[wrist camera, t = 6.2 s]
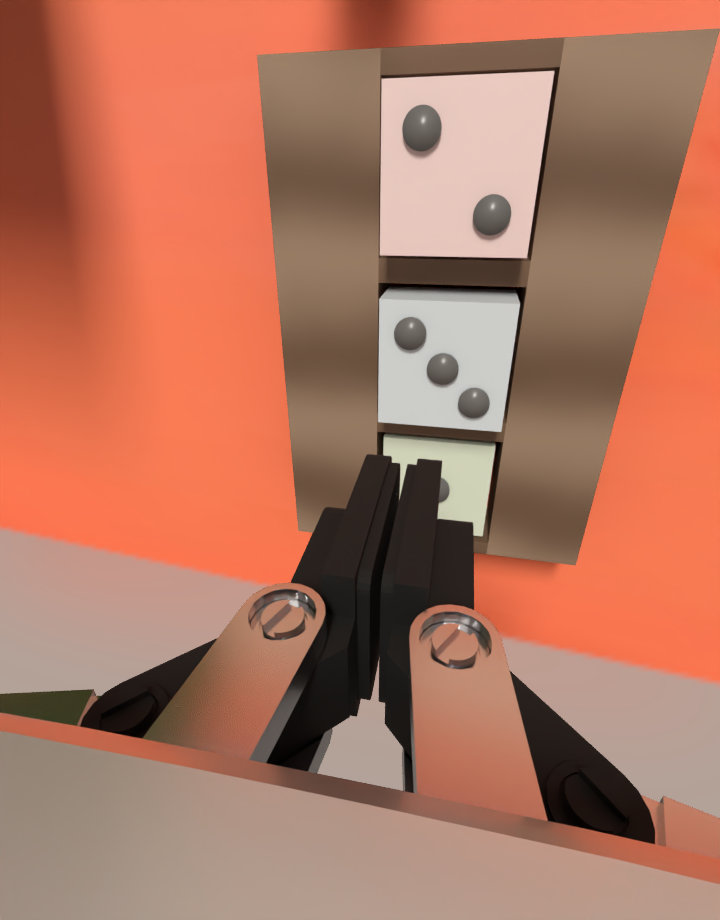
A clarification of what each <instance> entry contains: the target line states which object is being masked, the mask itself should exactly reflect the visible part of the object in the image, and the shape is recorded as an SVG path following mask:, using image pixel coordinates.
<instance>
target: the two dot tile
mask: <svg viewBox="0 0 720 920" xmlns="http://www.w3.org/2000/svg"><path fill="white" fill-rule="evenodd" d="M553 77H554V71H540V72H518V73H496V74H474V75H453V76H431V77H409V78H387V79H382V92H381V187H380V255H389V256H440V257H492V258H527V254H528V247H529V240H530V234H531V227H532V220H533V213H534V206H535V200H536V193H537V186H538V179H539V173H540V166H541V159H542V152H543V145H544V139H545V132H546V125H547V118H548V111H549V105H550V98H551V91H552V84H553Z"/></svg>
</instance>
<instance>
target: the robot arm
mask: <svg viewBox="0 0 720 920" xmlns="http://www.w3.org/2000/svg"><path fill="white" fill-rule="evenodd" d="M441 472H442V460H430V459H419V458H418V460H417V465H414V464H407V468H406V473H405V477H404V482H403V486H402V490H401V495H400V463H392V457H391V456H384V455H373V454H367V455H366V457H365V460H364V462H363V465H362V467H361V470H360V473H359V475H358V478H357V481H356V483H355V486H354V488H353V491H352V494H351V496H350V499H349V501H348V504H347V507H346V509H344V508H334V507H326V508H324V510H323V512H322V514H321V516H320V518H319V521H318V523H317V525H316V527H315V530H314V532H313V534H312V536H311V538H310V541H309V543H308V545H307V547H306V550H305V552H304V554H303V556H302V558H301V561H300V563H299V565H298V567H297V570H296V572H295V574H294V576H293V578H292V581H291V583H280V584H274V585H271V586H268V587H265V588H263V589H261V590H259V591H258V592H256V593H254V594H253V595H252V596H251V597H250V598H249V599H248V600H247V601H246V602H245V603H244V604H243V606H242V607H241V608H240V610H239V611H238V613H236V615H235V616H234V617H233V619H232V621H230V623H229V624H228V626H227V627H226V628H225V629H224V631H223V632H222V634H221V635H220V636H219V637H218V638H217V639H214V640H212V641H211V642H208V643H206V644H204V645H202V646H200V647H197V648H195V649H193V650H191V651H189V652H187V653H184V654H182V655H180V656H178V657H176V658H174V659H172V660H169V661H167V662H165V663H163V664H161V665H159V666H157V667H154V668H152V669H150V670H148V671H146V672H144V673H142V674H140V675H137V676H135V677H133V678H131V679H129V680H127V681H124V682H122V683H120V684H119V685H117V686H115V687H114V688H112V689H110V690H108V691H107V692H105V693H104V694H103V695H102V696H96V694H95V692H94V689H93V690H72V691H52V692H32V693H10V694H0V920H720V818H717V817H715V816H712V815H710V814H708V813H705V812H703V811H700V810H697V809H695V808H693V807H690V806H687V805H685V804H682V803H680V802H677V801H675V800H672V799H670V798H667V797H665V796H663V797H662V799H661V801H660V803H659V802H657V801H654V800H652V799H649V798H647V797H645V796H642V795H640V793H639V791H638V790H637V789H636V788H635V787H634V786H633V784H632V783H631V782H630V781H629V780H628V779H627V778H626V777H625V776H624V775H623V774H622V773H621V772H620V771H619V770H618V769H617V768H616V767H615V766H613V765H612V764H611V763H610V762H609V761H608V760H607V759H606V758H605V757H604V756H603V755H602V754H600V753H599V752H598V751H597V750H596V749H595V748H594V747H593V746H592V745H591V744H589V743H588V742H587V741H586V740H585V739H584V738H583V737H582V736H581V735H580V734H579V733H577V732H576V731H575V730H574V729H573V728H572V727H571V726H570V725H569V724H568V723H566V722H565V721H564V720H563V719H562V718H561V717H560V716H559V715H558V714H557V713H556V712H554V711H553V710H552V709H551V708H550V707H549V706H548V705H547V704H546V703H545V702H543V701H542V700H541V699H540V698H539V697H538V696H537V695H536V694H535V693H534V692H533V691H531V690H530V689H529V688H528V687H527V686H526V685H525V684H524V683H522V681H520V680H519V679H518V678H517V677H516V676H515V675H514V674H513V673H512V672H511V671H510V670H509V667H508V663H507V659H506V655H505V651H504V647H503V643H502V639H501V637H500V635H499V633H498V631H497V628H496V627H495V626H494V625H493V624H492V623H491V622H490V621H489V619H487V618H486V617H484V616H483V615H481V614H480V613H478V612H477V611H475V610H474V529H473V522H466V521H456V520H447V519H438V507H439V495H440V484H441ZM399 495H400V499H399ZM379 655H380V657H379ZM379 658H380V660H379ZM378 660H379V702H384V703H385V724H386V726H387V727H388V728H389V730H390V731H391V732H392V734H393V735H394V736H395V738H396V739H397V740H398V741H399V743H400V744H401V745H402V747H403V752H402V767H403V791H400V790H396V789H391V788H386V787H381V786H376V785H371V784H366V783H361V782H356V781H351V780H346V779H341V778H336V777H331V776H326V775H322V774H317V772H318V770H319V767H320V765H321V763H322V760H323V758H324V755H325V753H326V750H327V748H328V746H329V743H330V739H331V735H332V728H333V727H334V726H336V725H338V724H339V723H341V722H342V721H344V720H345V719H347V718H349V717H350V715H351V716H357V713H358V709H359V704H360V699H367V700H370V699H371V696H372V691H373V686H374V681H375V676H376V671H377V666H378Z"/></svg>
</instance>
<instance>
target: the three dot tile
mask: <svg viewBox="0 0 720 920" xmlns="http://www.w3.org/2000/svg"><path fill="white" fill-rule="evenodd" d="M519 308H520V302H519V299H518V296H517V293H516V290H498V289H466V288H433V287H401V286H389V288H388V289H387V290H386V291H385V293H384V294H383V295H382V296H381V298H380V299H379V376H378V422H383V423H396V424H408V425H420V426H433V427H445V428H457V429H470V430H482V431H494V432H501V430H502V424H503V417H504V410H505V403H506V396H507V390H508V383H509V376H510V369H511V363H512V356H513V349H514V342H515V335H516V329H517V322H518V315H519Z"/></svg>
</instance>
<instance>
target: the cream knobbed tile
mask: <svg viewBox="0 0 720 920" xmlns="http://www.w3.org/2000/svg"><path fill="white" fill-rule="evenodd" d="M494 453H495V441H483V440H471V439H459V438H448V437H436V436H424V435H412V434H400V433H388V432H385V435H384V445H383V455H384V456H391V457H392V463H400V495H401V490H402V486H403V482H404V477H405V473H406V468H407V464H414V465H417V460H418V458H419V459H430V460H442V472H441V484H440V495H439V507H438V519H447V520H456V521H466V522H473V529H474V536H482V537H483V530H484V523H485V516H486V509H487V502H488V495H489V488H490V481H491V474H492V467H493V460H494ZM400 495H399V499H400Z"/></svg>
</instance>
